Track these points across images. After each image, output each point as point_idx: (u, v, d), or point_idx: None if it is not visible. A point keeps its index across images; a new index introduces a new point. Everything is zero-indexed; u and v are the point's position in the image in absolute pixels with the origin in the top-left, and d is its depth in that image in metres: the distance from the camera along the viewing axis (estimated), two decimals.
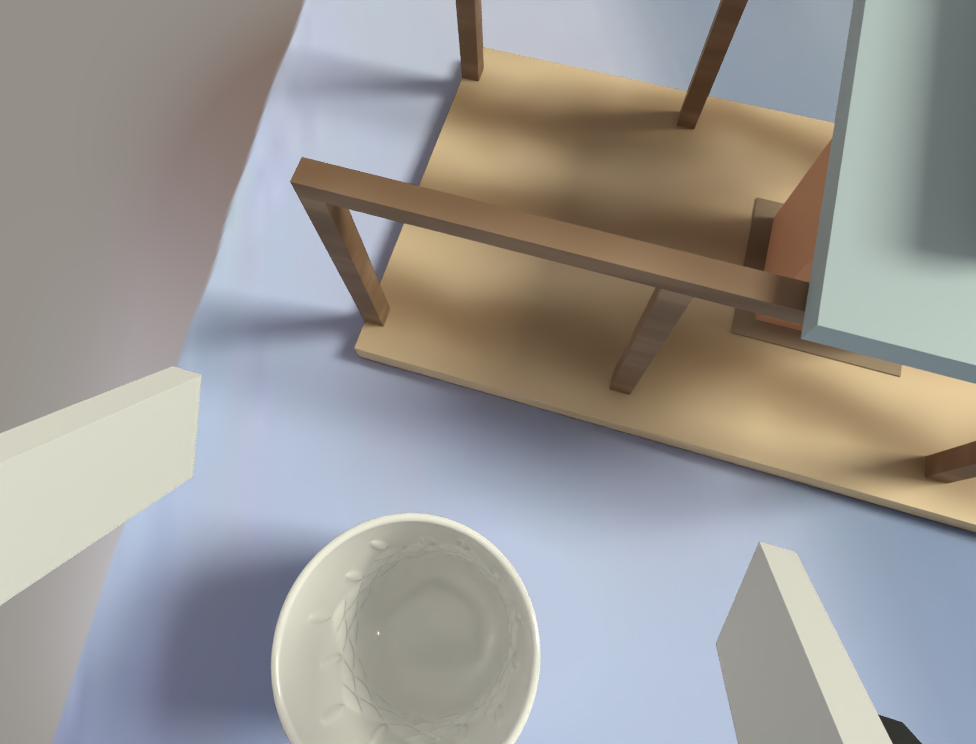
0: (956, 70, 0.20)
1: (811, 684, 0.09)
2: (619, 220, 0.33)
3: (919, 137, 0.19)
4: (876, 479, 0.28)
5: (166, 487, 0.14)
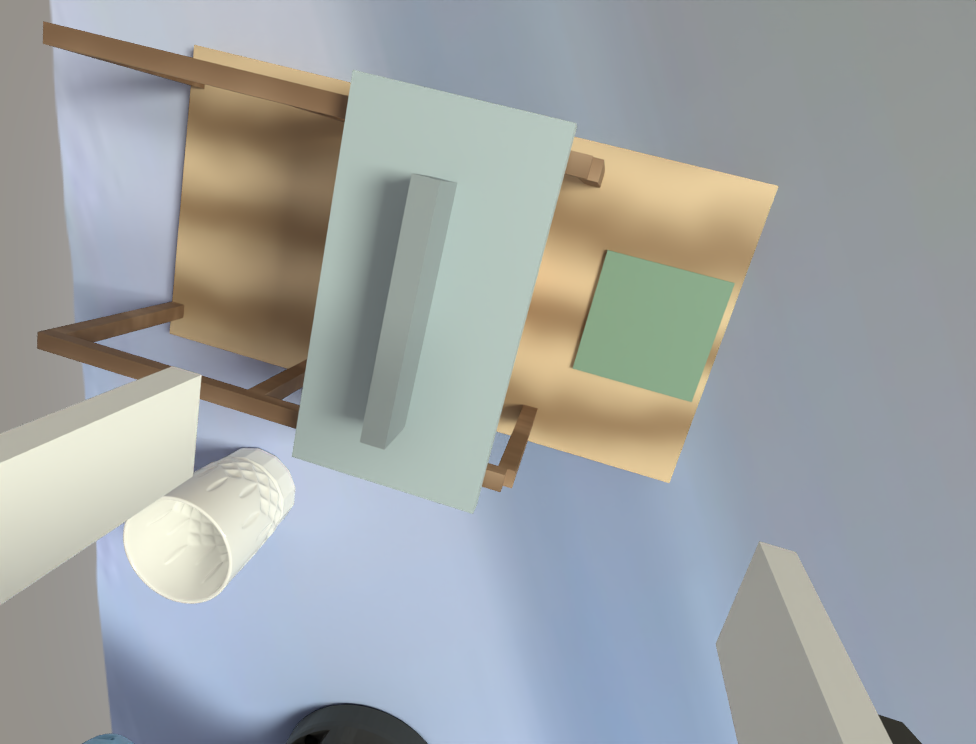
0: (379, 288, 0.29)
1: (811, 684, 0.09)
2: (326, 227, 0.42)
3: (352, 341, 0.30)
4: None
5: (167, 487, 0.14)
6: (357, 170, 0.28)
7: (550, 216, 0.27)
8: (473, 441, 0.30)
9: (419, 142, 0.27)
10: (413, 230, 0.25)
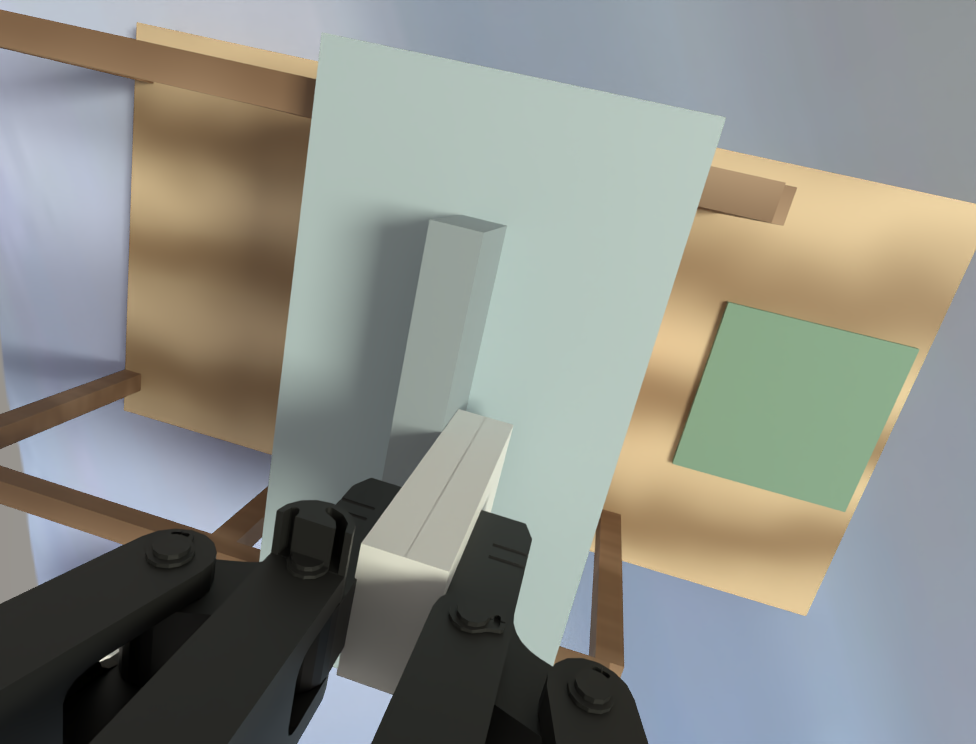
0: (377, 397, 0.18)
1: None
2: None
3: (335, 476, 0.19)
4: None
5: None
6: (335, 206, 0.17)
7: (672, 282, 0.15)
8: (532, 632, 0.19)
9: (439, 157, 0.16)
10: (434, 322, 0.14)
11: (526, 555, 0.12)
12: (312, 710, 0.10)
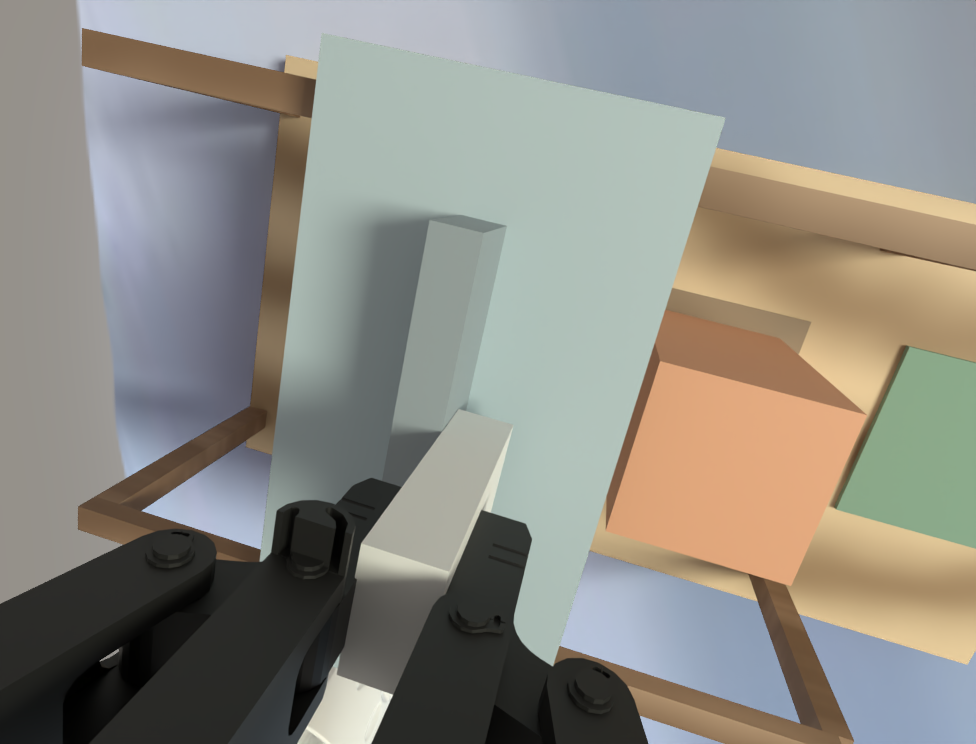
0: (377, 397, 0.18)
1: None
2: None
3: (335, 477, 0.19)
4: (701, 570, 0.31)
5: None
6: (335, 206, 0.17)
7: (671, 282, 0.15)
8: (532, 632, 0.19)
9: (439, 157, 0.16)
10: (434, 322, 0.14)
11: (526, 555, 0.12)
12: (312, 710, 0.10)
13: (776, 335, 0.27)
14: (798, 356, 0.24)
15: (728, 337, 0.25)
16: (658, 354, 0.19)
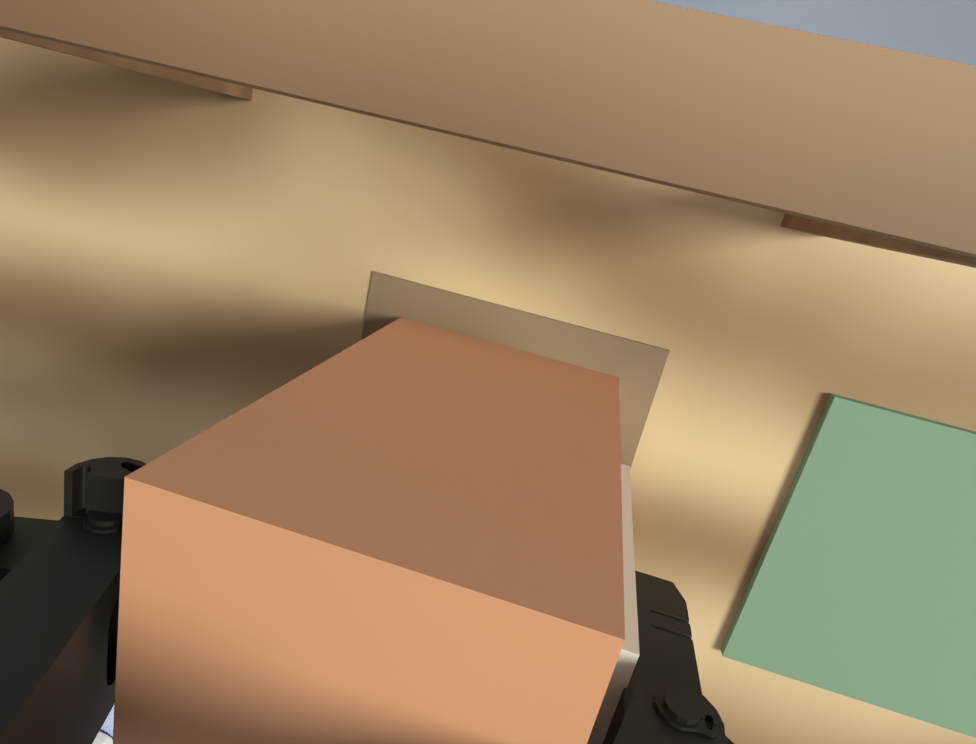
0: None
1: None
2: (147, 323, 0.18)
3: None
4: None
5: None
6: None
7: None
8: None
9: None
10: None
11: (686, 621, 0.11)
12: None
13: (613, 372, 0.16)
14: (615, 420, 0.13)
15: (495, 381, 0.14)
16: (176, 449, 0.08)
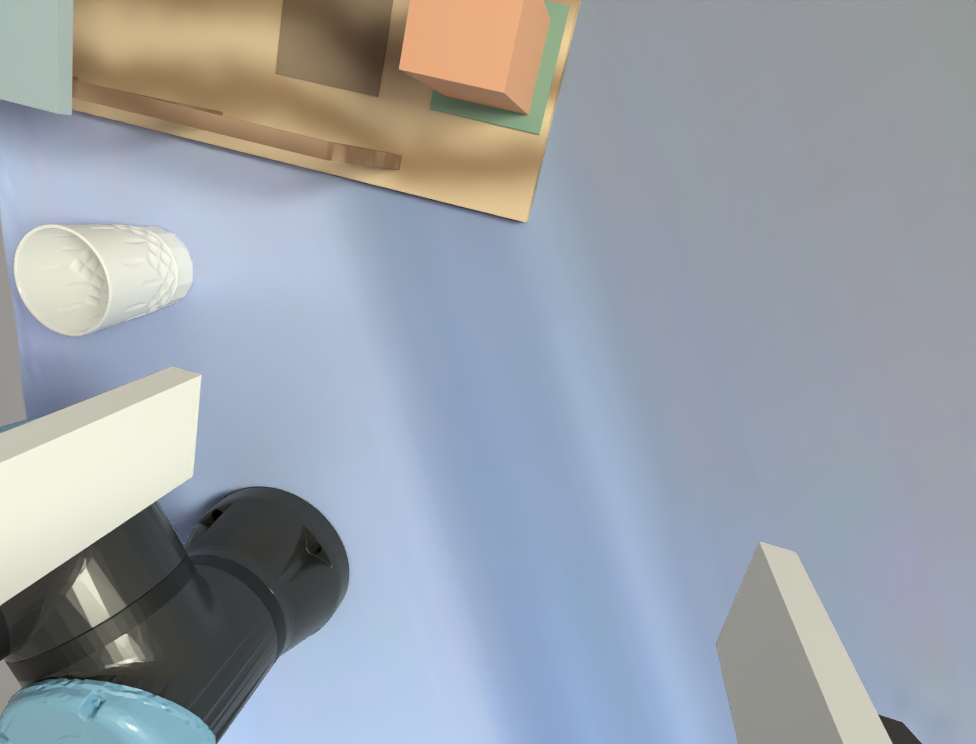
0: None
1: (811, 684, 0.09)
2: None
3: None
4: (359, 170, 0.46)
5: (166, 487, 0.14)
6: None
7: None
8: (44, 38, 0.35)
9: None
10: None
11: None
12: None
13: None
14: (543, 4, 0.38)
15: None
16: None
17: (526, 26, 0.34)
